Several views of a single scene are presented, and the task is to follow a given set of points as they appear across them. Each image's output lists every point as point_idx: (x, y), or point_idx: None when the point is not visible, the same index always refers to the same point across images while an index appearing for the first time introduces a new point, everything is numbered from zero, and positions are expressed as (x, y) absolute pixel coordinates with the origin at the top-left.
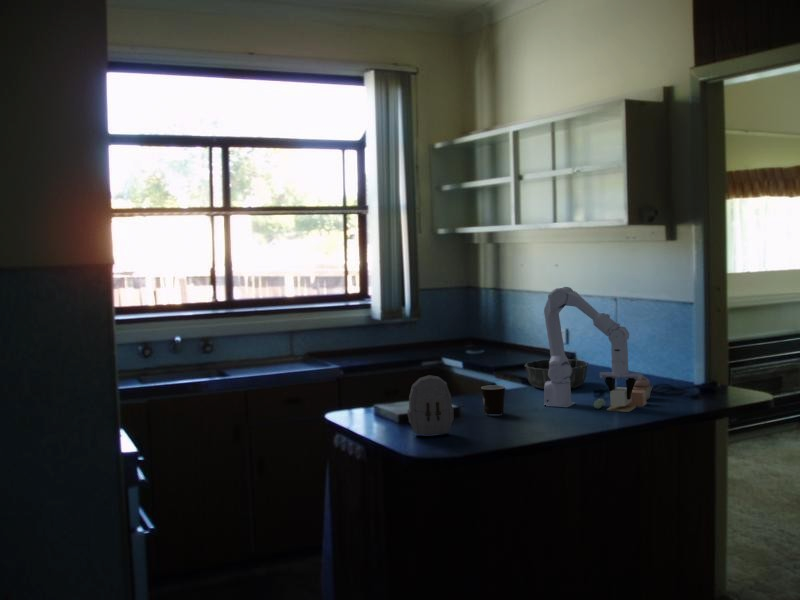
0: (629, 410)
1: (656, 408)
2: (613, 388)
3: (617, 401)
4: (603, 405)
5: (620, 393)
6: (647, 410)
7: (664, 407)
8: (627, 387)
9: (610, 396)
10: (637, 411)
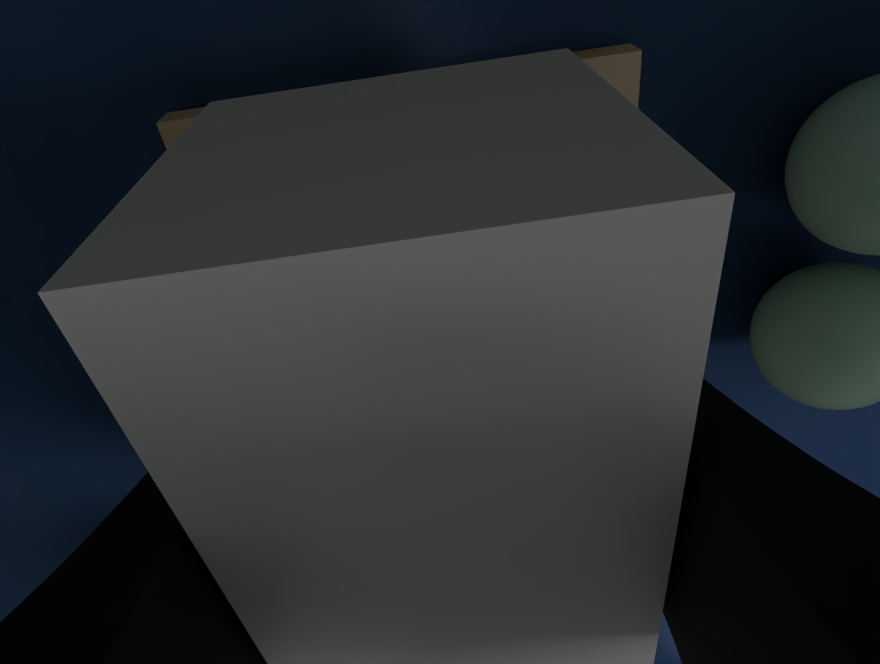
0: (163, 132)
1: (31, 494)
2: (693, 588)
3: (387, 109)
4: (760, 301)
5: (237, 235)
6: (20, 356)
7: (4, 560)
8: (81, 655)
9: (640, 113)
10: (86, 227)
